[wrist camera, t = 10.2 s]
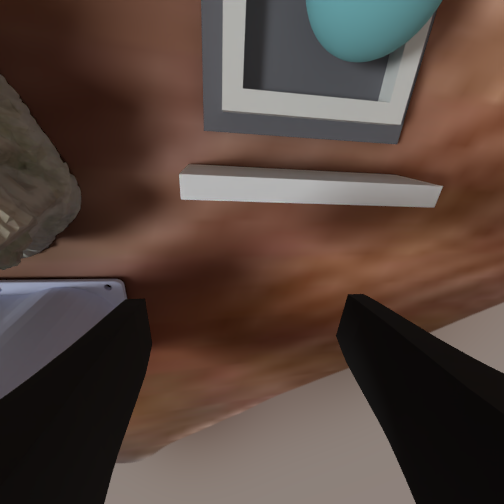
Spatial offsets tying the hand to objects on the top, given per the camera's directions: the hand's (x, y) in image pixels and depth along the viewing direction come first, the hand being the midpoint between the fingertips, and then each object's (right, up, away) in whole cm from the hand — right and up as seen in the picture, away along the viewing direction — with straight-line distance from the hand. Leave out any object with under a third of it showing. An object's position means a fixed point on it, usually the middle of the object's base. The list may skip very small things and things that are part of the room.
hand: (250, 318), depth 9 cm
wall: (+3, +7, +7) cm, 11 cm away
